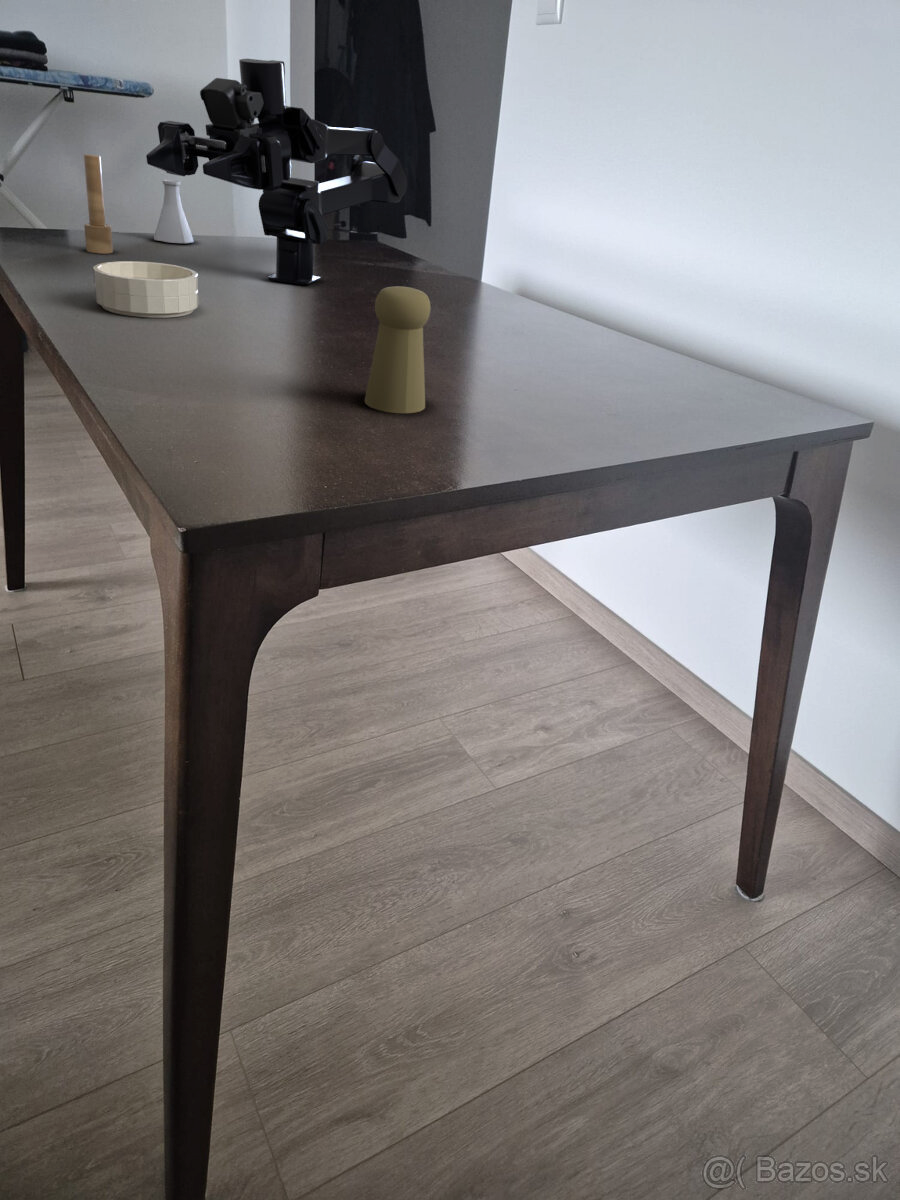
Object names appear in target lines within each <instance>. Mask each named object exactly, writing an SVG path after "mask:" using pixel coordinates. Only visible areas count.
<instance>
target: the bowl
mask: <svg viewBox="0 0 900 1200" xmlns="http://www.w3.org/2000/svg"><path fill="white" fill-rule="evenodd" d="M92 270H93V271H92V272H93V273H92V275H93V284H94V298H95V301H96V303H97V304H98V305H100V306H101V308H102V309H104V310H105V311H108V312H109V313H113V314H118V315H121V316H129V317H137V318H150V319H151V318H152V319H165V318H167V319H168V318H178V317H184V316H187V315H191V314H192V313H193V312H194V310H196V309H197V308H198V307H199V305H200V304H199V302H200V301H199V275H198V274H199V273H197V271H195V270H193V269H190V268H188V267H186V266H185V267H184V266H181V265H175V264H169V263H162V262H152V261H139V260H138V261H136V260H135V261H134V260H126V261H124V260H121V261H117V260H116V261H107V262H101V263H97V264H95V265H94V266H93V267H92Z"/></svg>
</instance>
